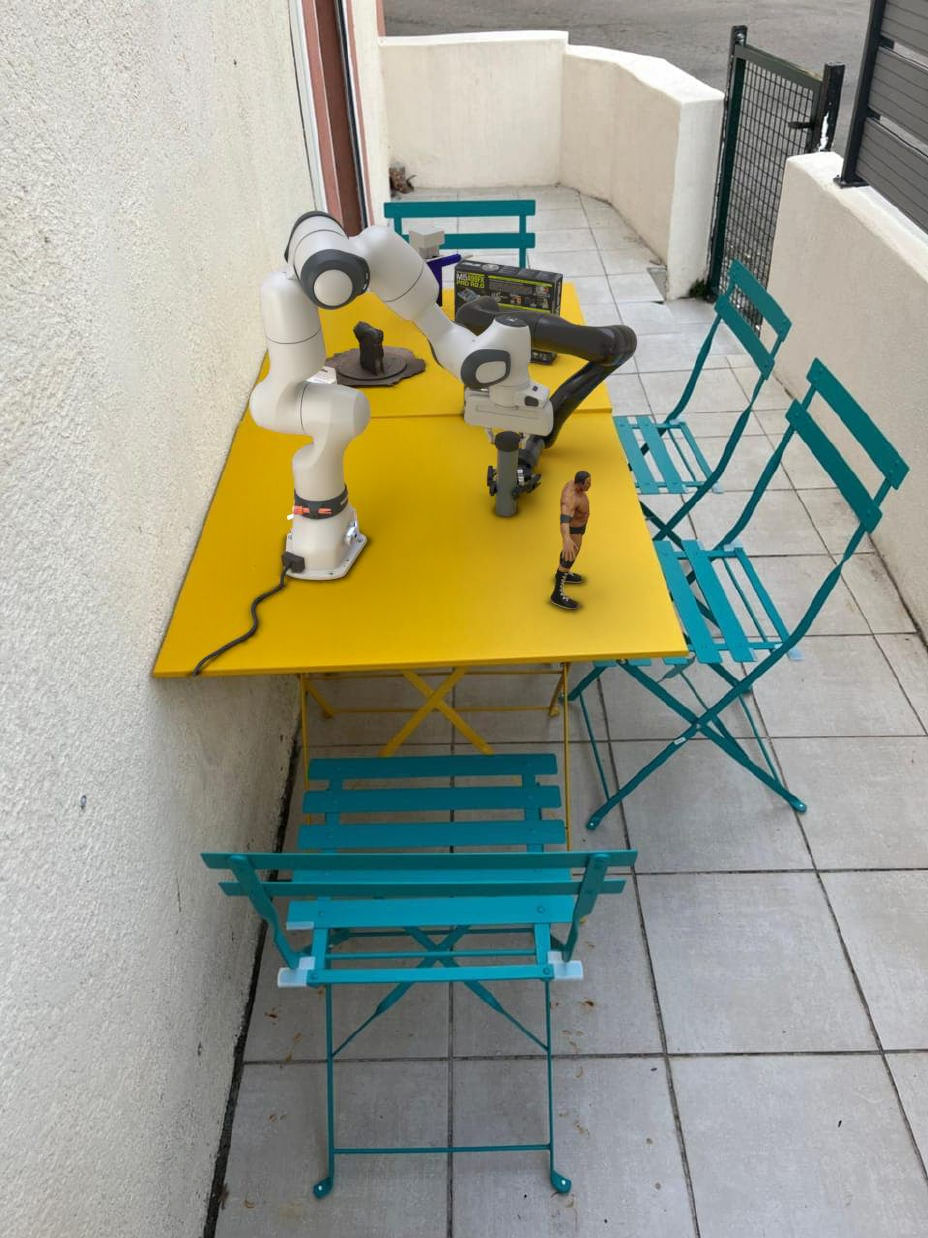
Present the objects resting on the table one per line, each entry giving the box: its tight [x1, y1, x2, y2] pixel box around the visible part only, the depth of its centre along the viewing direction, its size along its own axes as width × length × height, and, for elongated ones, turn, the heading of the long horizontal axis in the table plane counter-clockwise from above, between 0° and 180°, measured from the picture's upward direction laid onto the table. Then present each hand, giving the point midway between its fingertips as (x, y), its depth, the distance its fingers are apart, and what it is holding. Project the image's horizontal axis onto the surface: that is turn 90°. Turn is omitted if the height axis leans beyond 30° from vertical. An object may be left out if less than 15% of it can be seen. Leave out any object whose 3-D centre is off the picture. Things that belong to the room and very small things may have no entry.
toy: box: [408, 223, 474, 308], centre depth 298 cm, size 35×10×30 cm, turn 130°
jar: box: [495, 448, 518, 517], centre depth 210 cm, size 5×5×20 cm
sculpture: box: [320, 320, 426, 387], centre depth 273 cm, size 33×35×16 cm
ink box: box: [307, 366, 337, 384], centre depth 249 cm, size 9×5×15 cm, turn 62°
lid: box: [494, 430, 521, 452], centre depth 204 cm, size 6×6×2 cm
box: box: [453, 259, 564, 365], centre depth 278 cm, size 34×7×27 cm, turn 68°
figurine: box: [550, 470, 592, 610], centre depth 182 cm, size 24×6×30 cm, turn 168°
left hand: (507, 445), depth 205 cm, fingers closed on lid, 5 cm apart
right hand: (503, 494), depth 210 cm, fingers closed on jar, 5 cm apart
